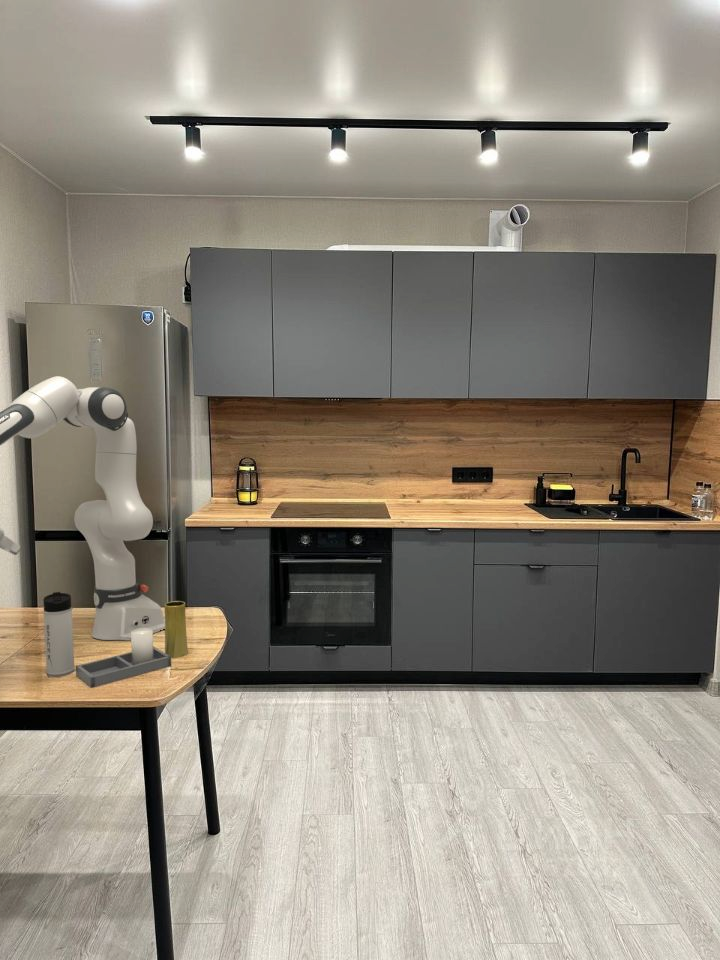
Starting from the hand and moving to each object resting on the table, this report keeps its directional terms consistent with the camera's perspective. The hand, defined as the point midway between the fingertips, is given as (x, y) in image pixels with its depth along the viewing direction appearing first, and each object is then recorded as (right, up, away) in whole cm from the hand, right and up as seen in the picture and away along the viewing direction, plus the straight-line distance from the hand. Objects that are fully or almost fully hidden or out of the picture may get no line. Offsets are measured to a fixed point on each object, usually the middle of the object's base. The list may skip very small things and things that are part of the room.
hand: (18, 551), depth 159 cm
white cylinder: (+27, -30, +9) cm, 41 cm away
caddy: (+23, -31, +6) cm, 39 cm away
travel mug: (+8, -31, +5) cm, 33 cm away
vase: (+33, -30, +18) cm, 48 cm away
